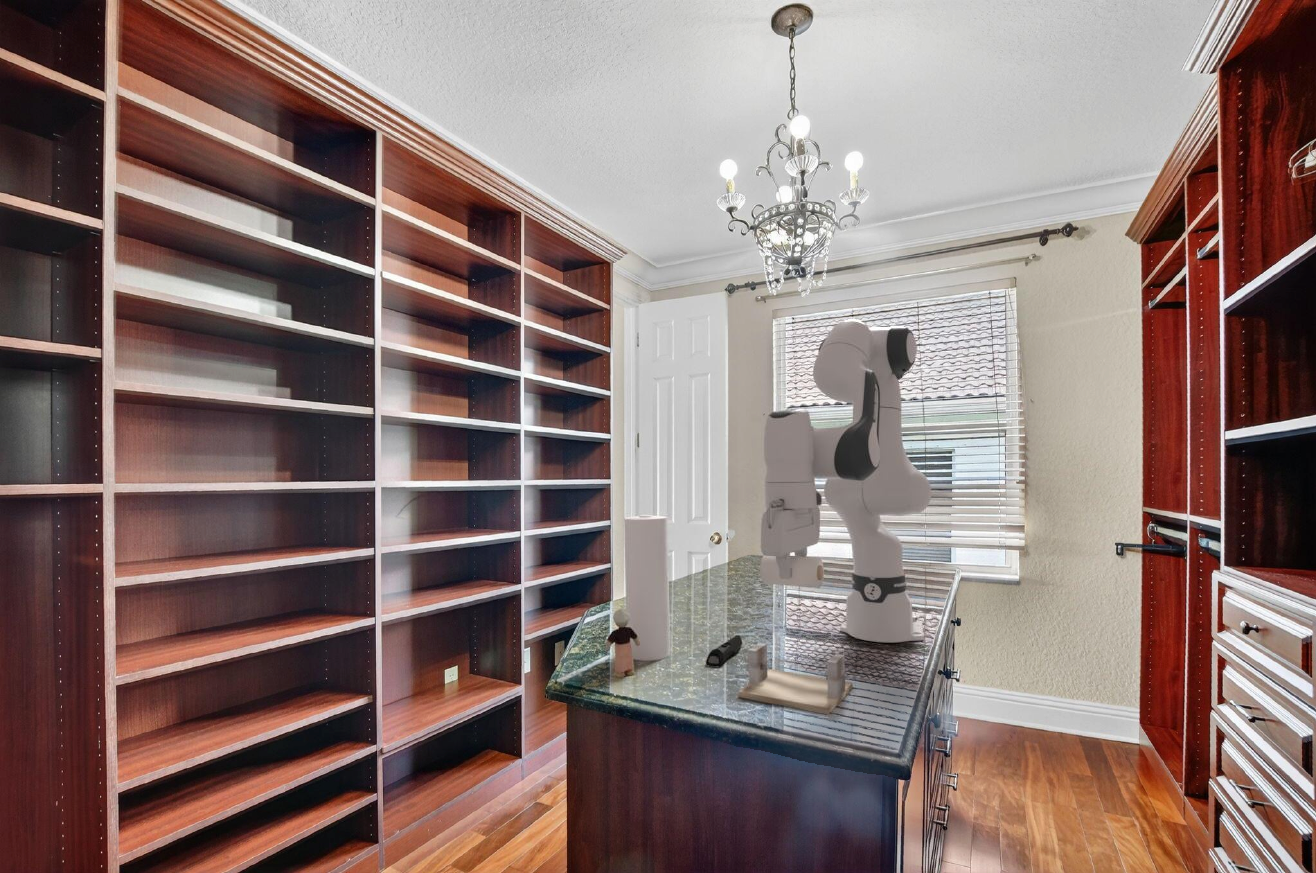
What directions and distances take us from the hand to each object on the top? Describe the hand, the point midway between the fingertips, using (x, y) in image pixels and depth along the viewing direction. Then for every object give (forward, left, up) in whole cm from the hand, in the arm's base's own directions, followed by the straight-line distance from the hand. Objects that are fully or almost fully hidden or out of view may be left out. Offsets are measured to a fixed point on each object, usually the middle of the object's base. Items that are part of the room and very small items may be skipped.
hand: (792, 575), depth 114 cm
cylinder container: (-7, -36, -21) cm, 42 cm away
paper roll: (-1, 0, -1) cm, 2 cm away
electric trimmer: (-13, -21, -21) cm, 32 cm away
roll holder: (0, 0, -21) cm, 21 cm away
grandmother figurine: (+7, -33, -21) cm, 40 cm away
